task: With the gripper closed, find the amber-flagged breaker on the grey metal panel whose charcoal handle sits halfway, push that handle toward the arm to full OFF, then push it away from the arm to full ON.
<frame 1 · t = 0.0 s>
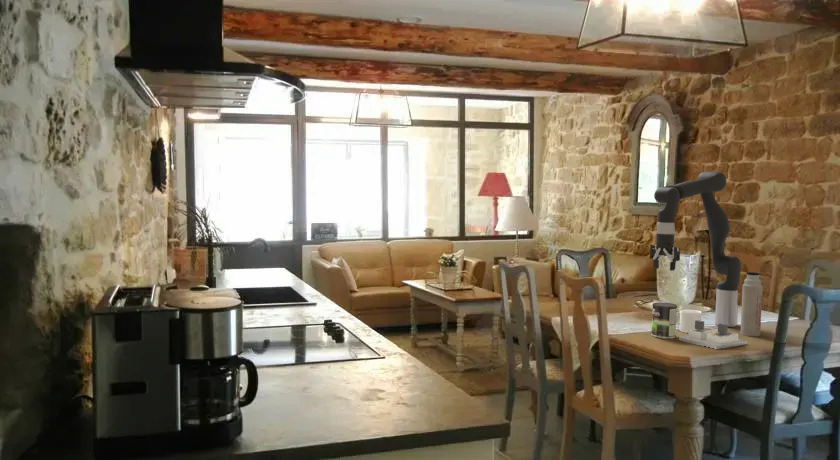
hand: (664, 269, 295), 29 cm above the table, tool pointing down, fingers open, 8 cm apart
on breaker handle: (699, 325, 285), point 7 cm above the table, slide at 3.0 cm
coffee can: (663, 336, 294), on the table
mug: (686, 331, 305), on the table
thermos bottle: (750, 334, 300), on the table
tripped breaker handle: (722, 328, 279), point 7 cm above the table, slide at 0.0 cm
breaker panel: (712, 342, 283), on the table
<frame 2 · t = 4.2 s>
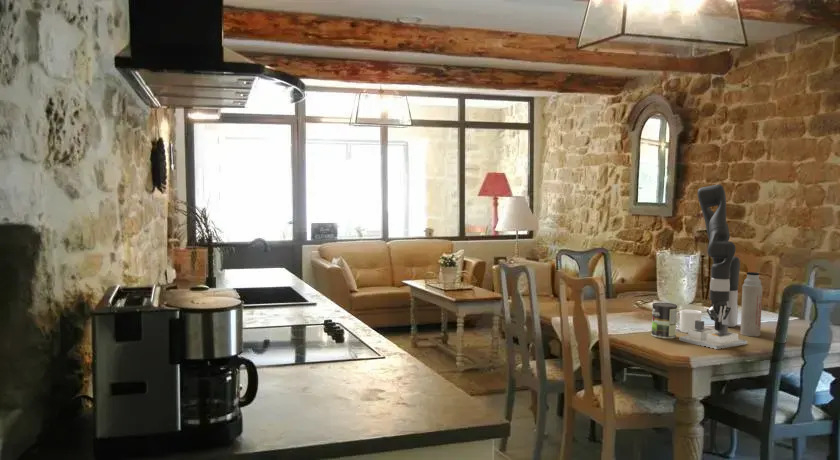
hand: (717, 330, 278), 6 cm above the table, tool pointing down, fingers closed
tripped breaker handle: (722, 328, 279), point 7 cm above the table, slide at -0.1 cm, touching gripper
everything else where it was.
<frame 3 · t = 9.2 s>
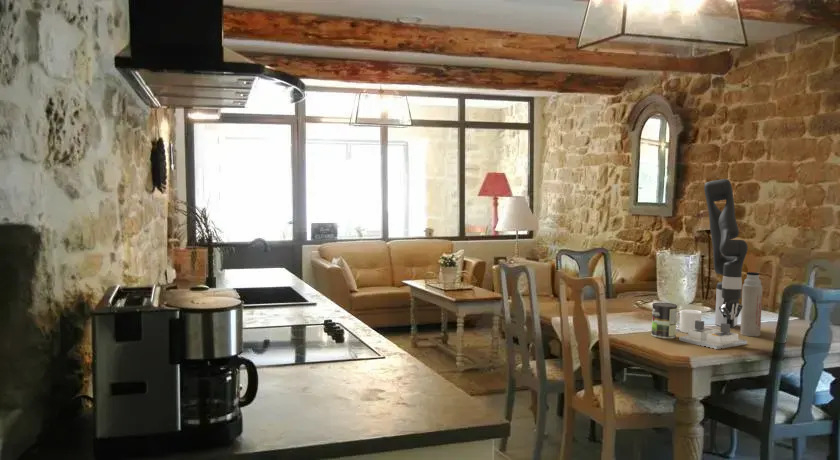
hand: (730, 327, 281), 7 cm above the table, tool pointing down, fingers closed
tripped breaker handle: (725, 328, 280), point 7 cm above the table, slide at -1.7 cm, touching gripper
everything else where it was.
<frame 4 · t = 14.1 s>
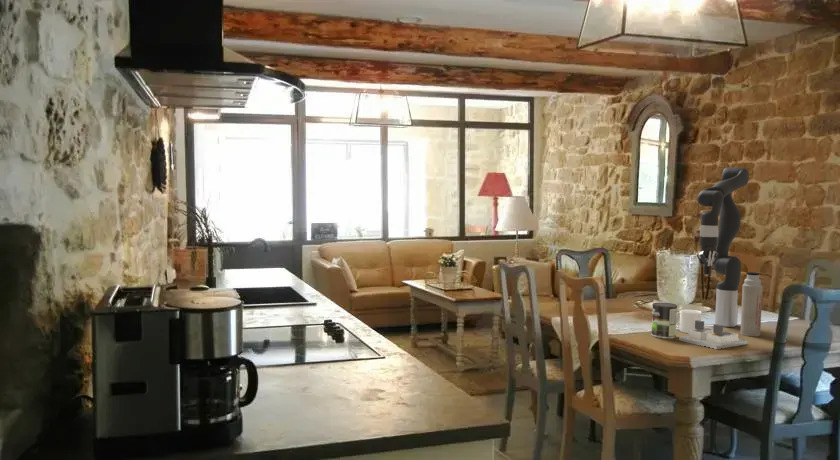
hand: (707, 274, 298), 27 cm above the table, tool pointing down, fingers closed
tripped breaker handle: (718, 329, 278), point 7 cm above the table, slide at 3.1 cm
everything else where it was.
at the end: tripped breaker handle slide at 3.1 cm; on breaker handle slide at 3.0 cm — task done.
